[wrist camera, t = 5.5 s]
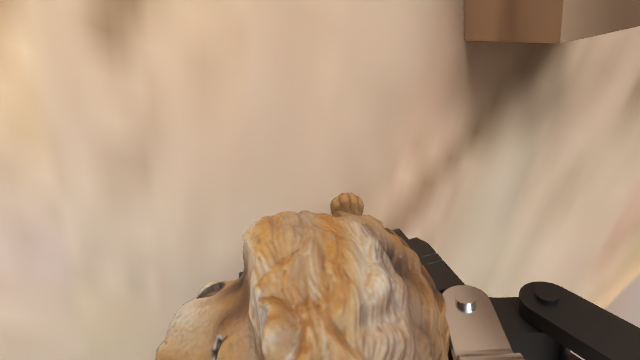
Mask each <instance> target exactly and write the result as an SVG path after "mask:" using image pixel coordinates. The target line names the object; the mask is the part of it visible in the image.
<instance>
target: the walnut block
mask: <svg viewBox="0 0 640 360" xmlns="http://www.w3.org/2000/svg"><path fill="white" fill-rule="evenodd" d="M637 26H640V0H464V40H466V41H496V42H527V43H557V44H560V43H565V42H569V41H574V40H578V39H583V38H587V37H592V36H596V35H601V34H605V33H610V32H614V31H619V30H623V29H628V28H632V27H637Z"/></svg>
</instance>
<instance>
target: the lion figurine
mask: <svg viewBox="0 0 640 360" xmlns="http://www.w3.org/2000/svg"><path fill="white" fill-rule="evenodd" d="M330 206H331V214H332V216H330V215H328V214H314V213H311V212H308V211H302V212H300V213H298V214H297V213H295V212H281V213H279V214H276V215H274V216H271V217H269V216H266V217H263V218H262V219H261V220H260V221H259V222H255V223H254V224H253V225H252V226H251V227H250V228H249V230H248V231H247V232H246V233H245V234H244V235H243V238H244V241H245V242H244V247H243V258H244V272H243V274H242V275H241V277H240V278H239V279H238V280H236V281H222V282H210V283H207V284H206V285H205V286H204V287H202V288H201V289H200V291H199V293H198V295H197V298H196V299H193V300H191V301H189V302H187V303H185V304H183V305H182V307H181V308H180V309H179V310H178V311H177V313H176V314H175V315H174V317H173V319H172V321H171V323H170V326H169V329H168V332H167V335H166V338H165V340H164V341H163V343H162V344H161V345H160V346H159V348H158V349H157V352H156V360H449V359H448V351H449V338H450V330H449V326H448V323H447V320H446V316H445V313H446V303H445V300H444V297H443V295H442V294H441V293H440V292H439V291H438V290H436V287H435V284H434V282H433V280H432V278H431V276H430V275H429V273H428V272H427V270H426V269H425V267H424V266H423V265H422V264H421V263H420V259H419V257H418V255H417V254H416V253H415V252H414V251H413V250H412V249H410V247H409V246H408V244H407V243H406V242H405V241H404V240H403V239H402V238H401V237H400V236H398V235H397V234H396V233H395V232H394V231H392V230H390V229H388V228H384V227H383V225H382V222H380V221H379V220H377V219H376V218H374V217H372V216H370V215H362V213H363V208H364V204H363V201H362V200H361V199H360V197H358V196H356V195H354V194H352V193H342V194H340V195H339V196H337V197H336V198H334V199H333V200H332V201H331V205H330Z"/></svg>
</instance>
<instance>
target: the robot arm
mask: <svg viewBox="0 0 640 360" xmlns="http://www.w3.org/2000/svg"><path fill="white" fill-rule="evenodd" d="M392 231H394V232H395V233H396V234H397V235H398V236H400V237H401V238H402V239H403V240H404V241H405V242H406V243H407V244H408V246H409V247H410V249H412V250H413V251H414V252H415V253H416V254H417V255H418V257H419V259H420V263H421V264H422V265H423V266H424V267H425V269H426V270H427V272H428V273H429V275H430V276H431V278H432V280H433V282H434V284H435V287H436V290H438V291H439V292H440V293H441V294H442V295H443V297H444V300H445V303H446V313H445V316H446V320H447V323H448V326H449V330H450V338H449V351H448V359H449V360H581V359H580V358H578V357H577V356H575V355H574V354H572V353H571V352H570V350H572V351H573V352H574V353H576V354H577V355H579V356H580V357H582V358H584V359H585V360H640V328H638V327H636V326H635V325H633V324H631V323H629V322H627V321H625V320H623V319H621V318H619V317H617V316H616V315H614V314H612V313H610V312H608V311H606V310H604V309H602V308H600V307H599V306H597V305H595V304H593V303H591V302H589V301H587V300H585V299H583V298H581V297H580V296H578V295H576V294H574V293H572V292H570V291H568V290H566V289H564V288H562V287H560V286H558V285H555V284H552V283H548V282H531V283H528V284H526V285H524V286H523V287H522V288H521V289H520V292H519V297H507V298H492V297H488V296H487V294H486V293H484V292H483V291H482V290H480V289H478V288H475V287H472V286H468V285H465V284H464V283H463V282H462V281H461V280H460V279H459V278H458V276H457V275H456V274H455V273H454V272H453V271H452V270H451V269H450V267H449V266H448V265H447V264H446V263H445V262H444V261H442V258H441V257H440V256H439V255H438V254H436V252H435V251H434V249H433V248H432V247H431V246H430V245H429V244H428V243H426V242H424V241H422V240H420V239H418V238H413V239H409V240H408V238H407V237H406V236H405V235H404V233H403V232H402V231H401V230H400V229H399V228H398V229H395V230H392ZM243 272H244V271H243ZM243 272H240V273H239V278H240V277H241V275H242V274H243Z"/></svg>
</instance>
